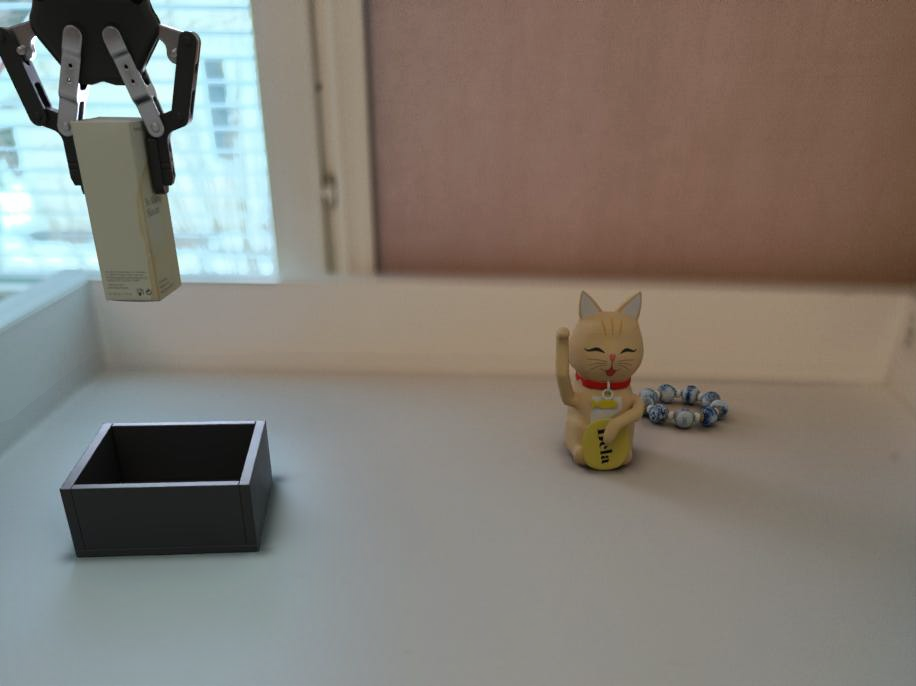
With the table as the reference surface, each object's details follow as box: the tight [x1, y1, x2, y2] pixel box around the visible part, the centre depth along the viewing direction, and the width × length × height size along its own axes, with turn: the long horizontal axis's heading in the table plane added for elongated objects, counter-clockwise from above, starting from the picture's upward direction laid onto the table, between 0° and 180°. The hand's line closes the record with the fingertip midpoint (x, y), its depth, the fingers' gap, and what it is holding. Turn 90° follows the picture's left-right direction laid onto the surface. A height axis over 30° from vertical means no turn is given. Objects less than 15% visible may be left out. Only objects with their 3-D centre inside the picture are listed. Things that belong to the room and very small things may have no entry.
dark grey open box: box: [59, 420, 273, 558], centre depth 74 cm, size 14×14×6 cm
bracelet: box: [638, 383, 729, 429], centre depth 98 cm, size 10×10×2 cm
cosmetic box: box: [70, 116, 182, 303], centre depth 69 cm, size 6×4×12 cm
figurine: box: [554, 290, 645, 471], centre depth 84 cm, size 9×10×15 cm
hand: (126, 191), depth 68 cm, fingers closed on cosmetic box, 4 cm apart
